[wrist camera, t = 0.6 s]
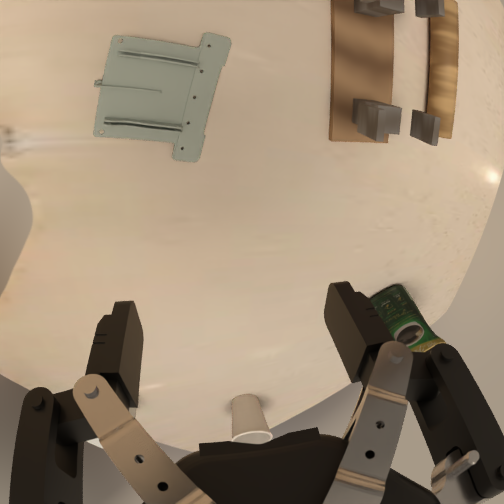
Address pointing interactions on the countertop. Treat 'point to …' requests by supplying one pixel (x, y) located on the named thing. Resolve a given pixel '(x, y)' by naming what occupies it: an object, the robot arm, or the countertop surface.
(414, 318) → the coffee jar
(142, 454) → the robot arm
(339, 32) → the bracket stand
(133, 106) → the metal bracket
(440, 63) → the rail
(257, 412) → the dixie cup
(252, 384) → the countertop surface
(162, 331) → the countertop surface
